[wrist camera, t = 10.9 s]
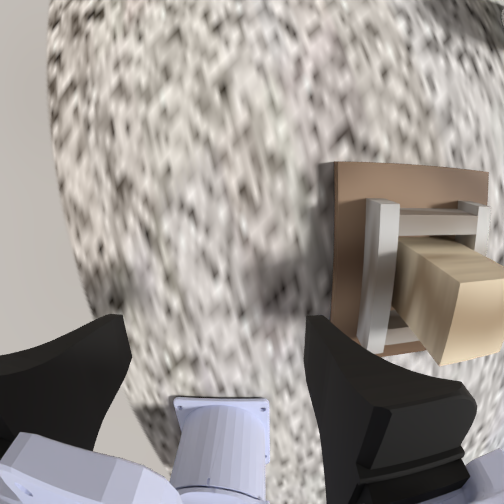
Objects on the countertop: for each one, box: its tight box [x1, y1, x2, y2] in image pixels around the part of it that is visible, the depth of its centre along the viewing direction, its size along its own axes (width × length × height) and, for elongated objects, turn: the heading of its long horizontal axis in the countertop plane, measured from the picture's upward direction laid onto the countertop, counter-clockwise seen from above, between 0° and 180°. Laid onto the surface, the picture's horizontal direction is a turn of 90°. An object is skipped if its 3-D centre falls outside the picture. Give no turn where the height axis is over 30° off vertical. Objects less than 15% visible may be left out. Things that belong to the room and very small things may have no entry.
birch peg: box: [391, 237, 504, 366], centre depth 16 cm, size 4×4×8 cm
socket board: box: [330, 162, 491, 357], centre depth 19 cm, size 14×12×4 cm
